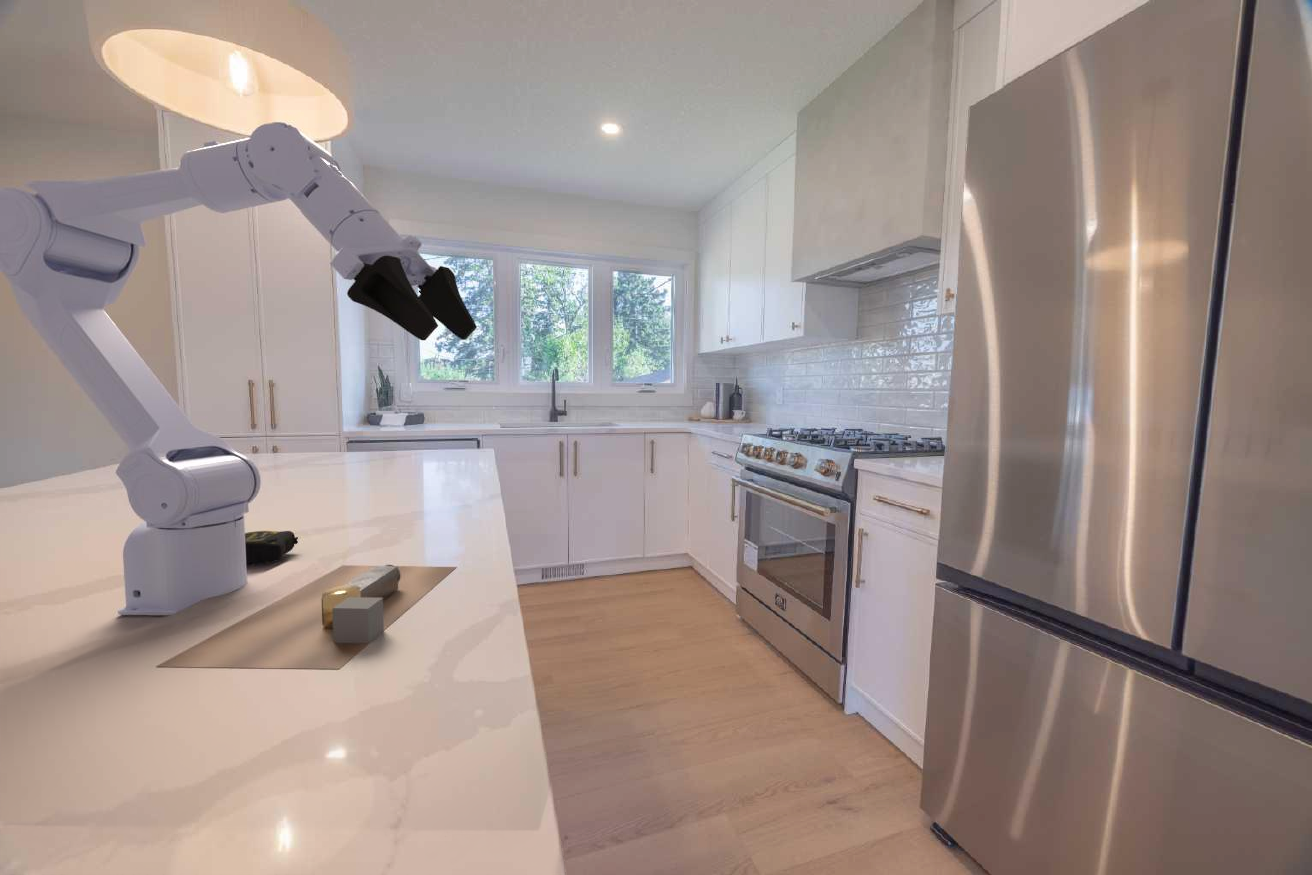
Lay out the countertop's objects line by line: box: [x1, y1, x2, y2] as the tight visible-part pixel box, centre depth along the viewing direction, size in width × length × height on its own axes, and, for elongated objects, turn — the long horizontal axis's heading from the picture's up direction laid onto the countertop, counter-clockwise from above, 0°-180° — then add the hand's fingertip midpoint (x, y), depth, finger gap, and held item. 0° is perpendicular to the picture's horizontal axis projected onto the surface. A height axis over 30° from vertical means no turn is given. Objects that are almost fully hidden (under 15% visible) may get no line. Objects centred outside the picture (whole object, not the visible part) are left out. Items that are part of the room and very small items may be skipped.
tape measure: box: [245, 530, 299, 567], centre depth 69 cm, size 7×7×4 cm
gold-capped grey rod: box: [322, 564, 401, 628], centre depth 51 cm, size 10×3×3 cm, turn 0°
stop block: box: [332, 597, 385, 644], centre depth 45 cm, size 3×2×3 cm
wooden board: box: [155, 564, 458, 670], centre depth 52 cm, size 14×24×2 cm, turn 0°
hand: (451, 333), depth 53 cm, fingers open, 7 cm apart
